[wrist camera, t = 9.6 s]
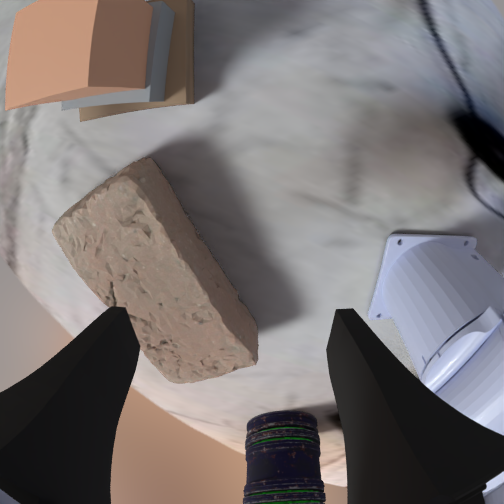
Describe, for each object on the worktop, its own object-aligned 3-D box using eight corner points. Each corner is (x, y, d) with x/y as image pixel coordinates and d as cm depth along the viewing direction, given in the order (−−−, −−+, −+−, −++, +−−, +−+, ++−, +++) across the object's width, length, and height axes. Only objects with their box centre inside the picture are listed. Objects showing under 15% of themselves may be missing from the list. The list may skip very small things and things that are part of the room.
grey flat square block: (175, 12, 10) (162, 1, 8) (163, 101, 13) (149, 101, 11) (91, 26, 10) (71, 20, 8) (82, 107, 13) (61, 110, 11)
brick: (74, 206, 18) (39, 233, 14) (154, 148, 16) (123, 165, 12) (183, 349, 26) (174, 388, 22) (262, 326, 24) (263, 369, 20)
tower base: (196, 6, 12) (187, -7, 10) (196, 103, 15) (186, 103, 13) (99, 28, 12) (80, 22, 10) (99, 118, 15) (80, 121, 13)
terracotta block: (153, 7, 9) (104, -28, 4) (145, 88, 11) (87, 86, 6) (77, 25, 8) (16, 12, 4) (71, 99, 11) (5, 110, 6)
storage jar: (309, 437, 35) (316, 521, 22) (245, 437, 35) (241, 524, 22) (325, 408, 30) (338, 514, 17) (246, 409, 31) (242, 520, 17)
